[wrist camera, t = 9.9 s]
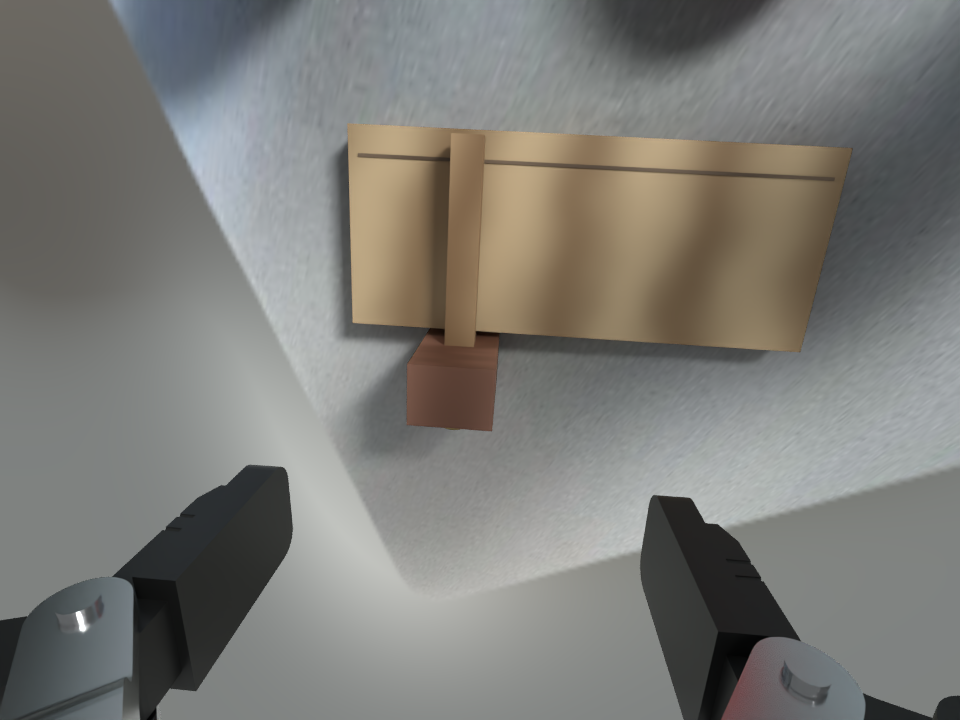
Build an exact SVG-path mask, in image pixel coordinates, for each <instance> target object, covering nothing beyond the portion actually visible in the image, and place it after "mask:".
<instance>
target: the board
mask: <svg viewBox="0 0 960 720" xmlns="http://www.w3.org/2000/svg"><path fill="white" fill-rule="evenodd" d="M451 133H461V134H481V135H485V138H486V140H485V159H484V179H483V199H482V218H481V238H480V258H479V277H478V297H477V317H476V331H485V332H500V333H515V334H530V335H545V336H561V337H576V338H591V339H606V340H621V341H637V342H652V343H667V344H682V345H697V346H713V347H728V348H743V349H758V350H773V351H789V352H800V351H801V347H802V343H803V339H804V336H805V332H806V328H807V324H808V320H809V316H810V312H811V308H812V305H813V301H814V297H815V293H816V289H817V285H818V281H819V277H820V274H821V270H822V266H823V262H824V258H825V254H826V250H827V246H828V243H829V239H830V235H831V231H832V227H833V223H834V219H835V215H836V212H837V208H838V204H839V200H840V196H841V192H842V188H843V185H844V181H845V177H846V173H847V169H848V165H849V161H850V157H851V154H852V150H853V148H840V147H820V146H799V145H779V144H758V143H737V142H717V141H696V140H676V139H655V138H635V137H614V136H594V135H573V134H553V133H532V132H512V131H491V130H471V129H450V128H430V127H409V126H389V125H368V124H348V161H349V199H350V238H351V276H352V314H353V323H363V324H378V325H393V326H409V327H424V328H439V329H445V313H446V281H447V250H448V218H449V186H450V155H451Z"/></svg>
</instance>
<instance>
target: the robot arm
mask: <svg viewBox="0 0 960 720" xmlns="http://www.w3.org/2000/svg"><path fill="white" fill-rule="evenodd" d="M292 532H293V526H292V514H291V504H290V493H289V483H288V475H287V472H286V470H285V469H284V468H283V467H275V466H260V465H248V466H246V467H245V468H244V469H243V470H241V472H239V473H238V475H236V476H235V477H234V478H233V479H232V480H231V481H230V482H229V483H228V484H227V485H226V486H222V485H221V486H219V487H217V488H215V489H213V490H212V491H210V492H208V493H206V494H204V495H202V496H200V497H198V498H197V499H196V500H195V501H194V502H193V503H192V504H190V505H189V506H188V507H187V508H186V509H185V510H184V511H183V512H182V513H181V514H180V517H176V518H175V519H174V520H173V521H172V522H171V523H170V524H169V525H168V526H167V527H166V530H165V531H164V530H162V531H161V532H160V533H159V534H158V535H157V536H156V537H155V538H154V539H153V540H151V541H150V542H149V543H148V544H147V545H146V546H145V547H144V548H143V549H142V550H141V551H140V552H138V554H136V555H135V556H134V557H133V558H132V559H131V560H130V561H129V562H128V563H127V564H125V565H124V566H123V567H122V568H121V569H120V570H119V571H118V572H117V573H116V574H115V575H114V576H112V577H101V578H95V579H90V580H86V581H83V582H80V583H77V584H74V585H72V586H69V587H67V588H65V589H63V590H61V591H59V592H57V593H55V594H53V595H52V596H50V597H49V598H47V599H46V600H44V601H43V602H42V603H40V604H39V605H38V606H37V607H36V608H35V609H34V610H33V611H32V612H31V613H30V614H29V615H28V616H26V617H20V618H13V619H7V620H1V621H0V720H161V714H160V709H159V703H160V701H161V700H162V698H163V697H164V695H165V694H166V693H167V691H168V690H169V689H170V688H171V689H180V690H190V691H196V690H197V689H198V688H199V686H200V684H201V683H202V682H203V680H204V679H205V677H206V676H207V674H208V672H209V671H210V669H211V668H212V666H213V665H214V663H215V662H216V660H217V659H218V657H219V655H220V654H221V653H222V651H223V650H224V648H225V647H226V645H227V644H228V642H229V641H230V639H231V638H232V636H233V635H234V633H235V632H236V630H237V628H238V627H239V626H240V624H241V622H242V621H243V620H244V618H245V616H246V615H247V613H248V612H249V610H250V609H251V607H252V606H253V604H254V603H255V601H256V600H257V598H258V597H259V595H260V594H261V592H262V591H263V589H264V588H265V586H266V585H267V583H268V582H269V580H270V579H271V577H272V576H273V574H274V573H275V571H276V570H277V568H278V567H279V565H280V564H281V562H282V560H283V559H284V557H285V556H286V554H287V552H288V549H289V547H290V543H291V539H292ZM750 562H751V561H750V559H749V558H748V556H747V555H746V553H745V551H744V550H743V548H742V547H741V545H740V543H739V542H738V541H737V540H736V539H735V538H733V537H732V536H731V535H730V534H729V533H727V532H726V531H725V530H724V529H723V528H721V527H720V526H719V525H718V524H707V523H705V522H704V520H703V518H702V516H701V515H700V513H699V511H698V509H697V508H696V506H695V504H694V502H693V501H692V499H690V498H685V497H671V496H658V495H653V496H652V498H651V500H650V503H649V508H648V514H647V521H646V527H645V533H644V539H643V545H642V552H641V561H640V570H641V581H642V586H643V589H644V593H645V596H646V599H647V602H648V606H649V609H650V612H651V615H652V619H653V622H654V625H655V628H656V632H657V635H658V638H659V641H660V644H661V647H662V651H663V654H664V657H665V661H666V664H667V667H668V670H669V673H670V676H671V680H672V683H673V686H674V689H675V693H676V696H677V699H678V702H679V706H680V709H681V712H682V715H683V719H684V720H960V696H950V697H947V698H944V699H943V700H941V701H940V702H939V704H938V706H937V709H936V711H935V713H934V715H933V718H931V717H928V716H925V715H922V714H919V713H916V712H913V711H910V710H907V709H904V708H901V707H898V706H896V705H893V704H890V703H887V702H884V701H881V700H878V699H876V698H873V697H871V696H868V695H866V694H864V693H862V691H861V689H860V687H859V686H858V684H857V683H856V681H855V680H854V678H853V677H852V676H851V675H850V674H849V672H848V671H847V670H846V669H845V668H843V667H842V666H841V665H840V664H839V663H838V662H836V661H835V660H834V659H833V658H831V657H830V656H828V655H827V654H825V653H824V652H822V651H821V650H819V649H817V648H815V647H813V646H811V645H808V644H806V643H804V642H801V640H800V639H799V637H798V635H797V634H796V632H795V631H794V629H793V627H792V626H791V624H790V623H789V621H788V620H787V618H786V616H785V615H784V613H783V612H782V610H781V608H780V607H779V605H778V604H777V602H776V600H775V599H774V597H773V596H772V594H771V593H770V591H769V589H768V588H767V586H766V585H765V583H764V582H762V581H761V577H760V575H759V573H758V572H757V570H756V569H755V567H754V566H753V565H751V563H750Z"/></svg>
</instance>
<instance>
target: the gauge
mask: <svg viewBox="0 0 960 720" xmlns="http://www.w3.org/2000/svg"><path fill="white" fill-rule="evenodd" d="M485 140H486V138H485V135H481V134H461V133H451V155H450V186H449V218H448V250H447V281H446V313H445V329H439V328H430V329H429V331H428V332H427V334H426V336H425V337H424V339H423V340H422V342H421V343H420V345H419V346H418V348H417V350H416V351H415V353H414V354H413V356H412V357H411V359H410V361H409V362H408V364H407V425H414V426H427V427H441V428H446V429H450V430H459V429H468V430H481V431H492V425H493V414H494V402H495V391H496V380H497V364H498V349H499V334H500V332H485V331H476V317H477V297H478V277H479V258H480V238H481V218H482V199H483V179H484V159H485Z"/></svg>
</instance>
